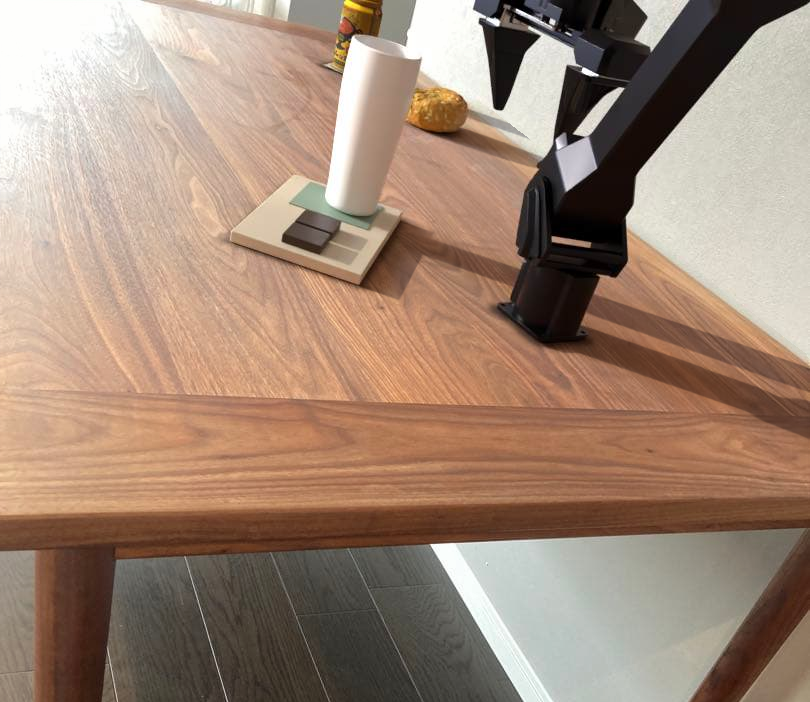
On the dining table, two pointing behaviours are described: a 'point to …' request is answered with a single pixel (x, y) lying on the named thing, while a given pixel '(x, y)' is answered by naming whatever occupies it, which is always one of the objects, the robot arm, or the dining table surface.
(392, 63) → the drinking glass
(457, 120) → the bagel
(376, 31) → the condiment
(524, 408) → the dining table surface
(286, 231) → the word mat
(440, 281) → the dining table surface
